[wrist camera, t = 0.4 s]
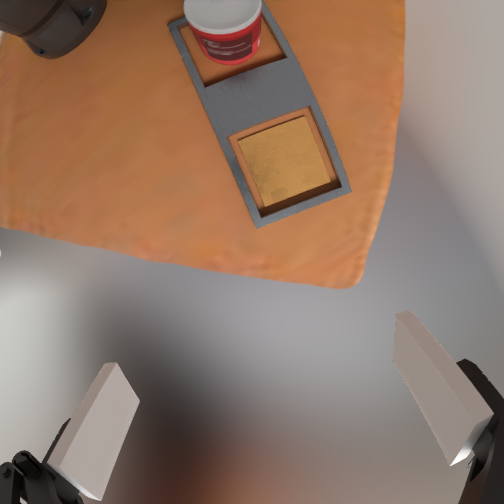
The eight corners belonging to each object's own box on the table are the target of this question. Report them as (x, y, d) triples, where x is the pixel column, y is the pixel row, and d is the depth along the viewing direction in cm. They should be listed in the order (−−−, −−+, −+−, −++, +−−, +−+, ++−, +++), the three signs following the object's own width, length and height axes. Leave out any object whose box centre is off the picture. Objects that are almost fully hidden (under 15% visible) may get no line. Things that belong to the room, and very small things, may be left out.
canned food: (234, 11, 27) (227, -34, 17) (273, 45, 29) (279, 5, 19) (189, 41, 29) (167, 3, 19) (226, 77, 31) (215, 45, 20)
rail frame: (169, 27, 28) (167, 24, 27) (257, -5, 27) (257, -9, 25) (256, 226, 37) (256, 228, 35) (349, 190, 35) (351, 191, 34)
